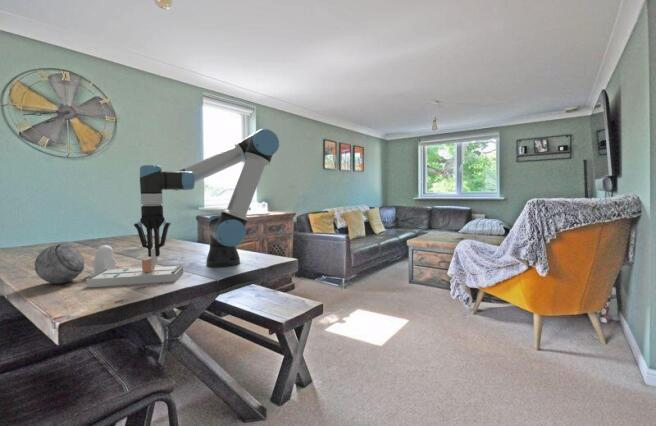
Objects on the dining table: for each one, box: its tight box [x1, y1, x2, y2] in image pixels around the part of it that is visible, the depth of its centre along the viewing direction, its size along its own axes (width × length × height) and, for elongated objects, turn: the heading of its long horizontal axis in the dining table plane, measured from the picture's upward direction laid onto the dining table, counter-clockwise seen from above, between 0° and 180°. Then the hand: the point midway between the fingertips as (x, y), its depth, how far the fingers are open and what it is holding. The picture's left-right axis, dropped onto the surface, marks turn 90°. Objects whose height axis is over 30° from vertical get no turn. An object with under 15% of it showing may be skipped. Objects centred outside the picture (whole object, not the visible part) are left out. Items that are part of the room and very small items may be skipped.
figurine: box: [93, 244, 117, 274], centre depth 140 cm, size 7×8×12 cm
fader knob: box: [141, 256, 156, 272], centre depth 130 cm, size 3×5×5 cm, turn 12°
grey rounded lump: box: [34, 243, 85, 284], centre depth 126 cm, size 15×14×15 cm
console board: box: [85, 264, 184, 288], centre depth 130 cm, size 30×14×4 cm, turn 102°
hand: (154, 264), depth 131 cm, fingers closed
